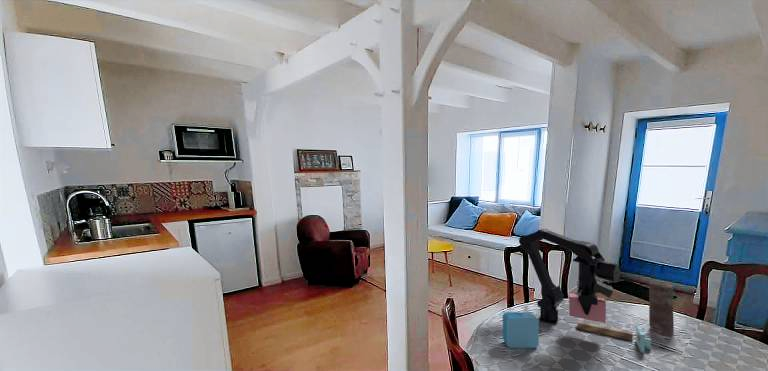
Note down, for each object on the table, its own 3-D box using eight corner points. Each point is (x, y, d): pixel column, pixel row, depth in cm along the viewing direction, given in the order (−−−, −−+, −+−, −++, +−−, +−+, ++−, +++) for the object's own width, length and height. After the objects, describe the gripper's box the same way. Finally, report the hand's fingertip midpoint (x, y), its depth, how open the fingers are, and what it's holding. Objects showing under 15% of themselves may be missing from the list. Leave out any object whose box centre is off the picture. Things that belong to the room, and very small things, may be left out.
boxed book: (569, 315, 121) (569, 296, 121) (569, 311, 125) (569, 293, 124) (605, 323, 115) (605, 303, 115) (604, 318, 118) (604, 299, 118)
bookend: (640, 352, 108) (640, 334, 108) (635, 341, 115) (636, 323, 115) (653, 355, 106) (653, 336, 106) (648, 344, 113) (648, 326, 113)
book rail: (577, 328, 126) (577, 322, 125) (577, 326, 127) (577, 320, 127) (632, 340, 116) (632, 334, 116) (631, 338, 118) (631, 332, 117)
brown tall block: (644, 328, 124) (645, 281, 123) (654, 324, 127) (655, 278, 126) (667, 337, 117) (668, 288, 116) (677, 333, 120) (678, 285, 119)
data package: (533, 341, 117) (533, 311, 117) (538, 348, 113) (538, 317, 112) (502, 341, 118) (502, 312, 117) (507, 348, 113) (506, 317, 113)
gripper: (615, 286, 107) (614, 328, 108) (609, 270, 123) (608, 307, 123) (578, 280, 113) (577, 320, 114) (577, 266, 129) (577, 301, 129)
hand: (586, 312), depth 120 cm, fingers closed on boxed book, 4 cm apart
